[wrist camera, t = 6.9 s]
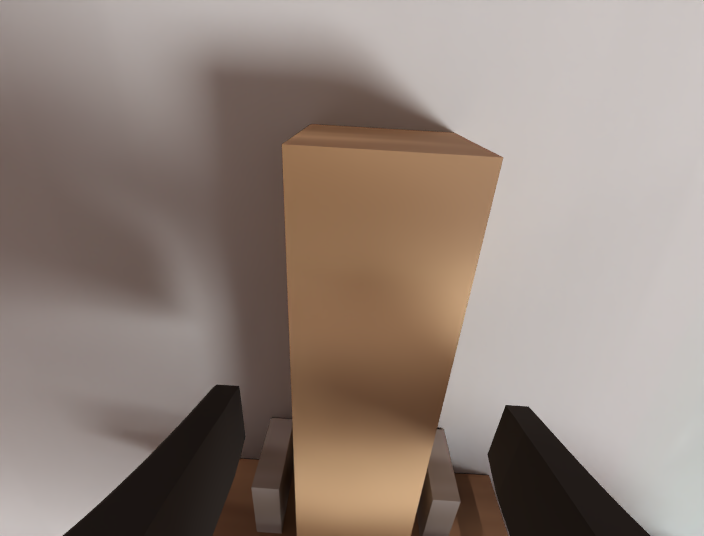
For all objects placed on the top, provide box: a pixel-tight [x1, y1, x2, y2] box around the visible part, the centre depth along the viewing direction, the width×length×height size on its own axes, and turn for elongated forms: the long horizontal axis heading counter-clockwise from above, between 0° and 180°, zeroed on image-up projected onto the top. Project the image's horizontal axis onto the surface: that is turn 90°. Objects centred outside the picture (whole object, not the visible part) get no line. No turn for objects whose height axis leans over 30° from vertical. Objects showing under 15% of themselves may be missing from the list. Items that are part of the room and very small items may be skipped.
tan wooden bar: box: [282, 124, 503, 536], centre depth 11 cm, size 14×4×4 cm, turn 177°
